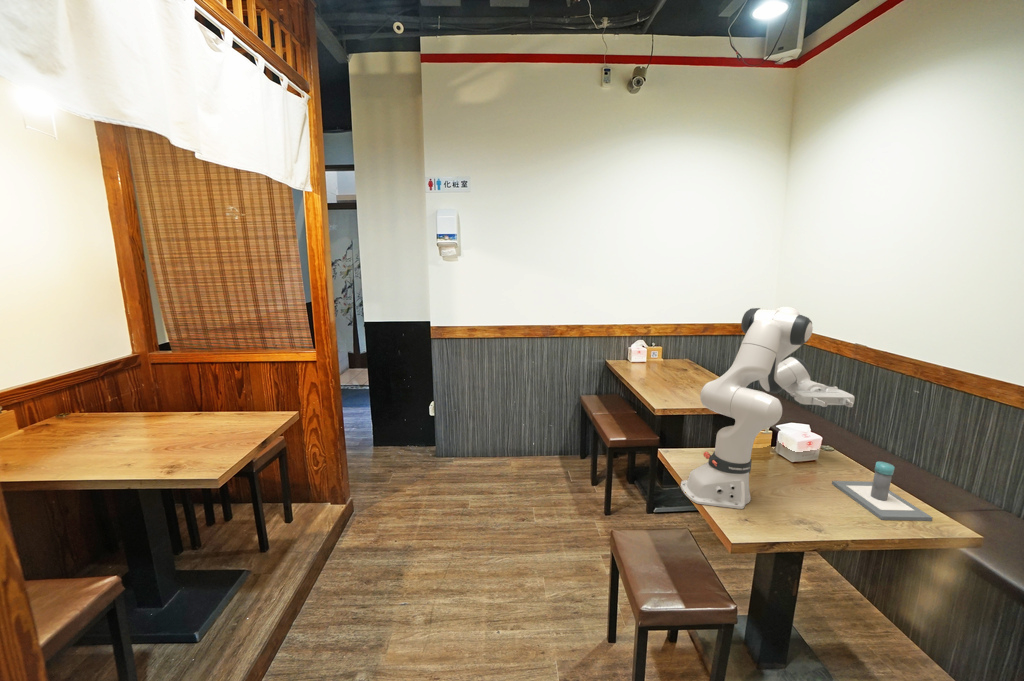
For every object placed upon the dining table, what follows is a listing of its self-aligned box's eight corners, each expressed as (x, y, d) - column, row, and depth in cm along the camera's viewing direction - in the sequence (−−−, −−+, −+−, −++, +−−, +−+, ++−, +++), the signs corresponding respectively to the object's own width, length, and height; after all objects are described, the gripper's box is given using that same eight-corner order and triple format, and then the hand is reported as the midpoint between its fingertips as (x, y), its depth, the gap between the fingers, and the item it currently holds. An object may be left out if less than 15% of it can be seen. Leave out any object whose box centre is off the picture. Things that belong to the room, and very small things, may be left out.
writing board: (881, 519, 137) (882, 515, 137) (831, 483, 159) (832, 480, 159) (931, 520, 137) (932, 516, 137) (875, 484, 159) (876, 481, 158)
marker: (877, 501, 145) (883, 468, 143) (866, 493, 150) (872, 461, 148) (891, 501, 145) (898, 468, 143) (879, 493, 150) (886, 461, 148)
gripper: (788, 385, 173) (811, 396, 160) (839, 386, 173) (867, 397, 160) (786, 400, 175) (808, 412, 161) (837, 401, 174) (864, 413, 161)
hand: (838, 405), depth 160 cm, fingers open, 8 cm apart
